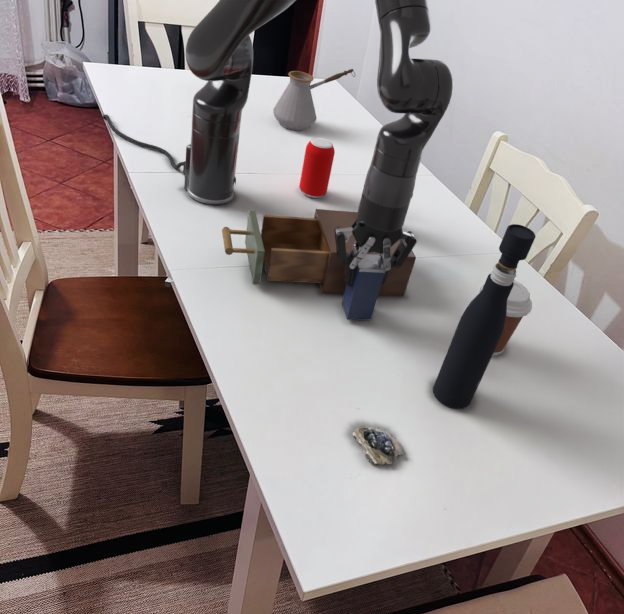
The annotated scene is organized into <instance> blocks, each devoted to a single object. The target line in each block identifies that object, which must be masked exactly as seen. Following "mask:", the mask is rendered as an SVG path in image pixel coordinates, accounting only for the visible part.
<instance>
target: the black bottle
mask: <svg viewBox="0 0 624 614" xmlns="http://www.w3.org/2000/svg"><path fill="white" fill-rule="evenodd" d="M535 239H536V234H535V232H534V231H533V230H532V229H531V228H529V227H527V226H525V225H522V224H517V223H516V224H515V223H512V224H509V225H508V226H507V227H506V229H505V232H504V234H503V237H502V239H501V242H500V244H499V246H498V250H499V252H500V253H501V255H500V257H499V259H498V261H497V262H496V263H495V264H494V266H492V270H491V271H490V273H488V275H487V277H486V279H485V282H484V284H483V285H484V286H483V285H482V286H483V289H482V291H481V292H480V291H479V292H478V294H476V296H475V297H474V298H473V299H472V300H471V301H470V302H469V304H467V306H466V308H465V310H464V311H463V313H462V315H461V317H460V319H459V321H458V323H457V326H456V328H455V331H454V334H453V336H452V339H451V341H450V344H449V346H448V349H447V351H446V354H445V357H444V359H443V361H442V364H441V366H440V369H439V371H438V373H437V377H436V378H435V382H434V384H433V386H432V393H433V396H434V398H435V399H436V400H437V401H438V402H439V403H440V404H442V405H444V406H445V407H448V408H450V409H456V410H462V409H465V408H468V407H469V406H470V405H471V403H472V401H473V399H474V396H475V395H476V392H477V390H478V388H479V385H480V384H481V381H482V379H483V377H484V374H485V372H486V371H487V368H488V366H489V364H490V362H491V359H492V358H493V356H494V355H493V353H494V351H495V349H496V346H497V344H498V342H499V340H500V338H501V335H502V333H503V330H504V326H505V321H506V314H507V299H508V297H509V295H510V292H511V290H512V288H513V285H514V284H513V282H514V280H515V278H516V277H517V269H518V266H519V263H520V261H524V260H526V259H527V257H528V255H529V253H530V251H531V248H532V246H533V244H534V242H535Z"/></svg>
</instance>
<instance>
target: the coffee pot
mask: <svg viewBox="0 0 624 614" xmlns="http://www.w3.org/2000/svg"><path fill="white" fill-rule="evenodd" d="M287 74H288V78H289V83H288V84H287V86H286V88H285V89H284V91H283V92H282V94H281V95H280V97H279V99H278V101H277V102H276V104H275V106H274V107H273V109H272V113H273V116H274V118H275V120H276V121H277V122H278V123H279V125H280V126H281V127H282V128H285V129H288V130H291V131H296V132H297V131H298V132H300V131H302V132H303V131H306V130H308V128H310V127H312V126H313V125H314V124H315V122H316V121H317V113H316V108H315V104H314V100H313V94H312V89H315V88H317V87H319V86H321V85H324V84H327V83H330V82H333V81H336V80H339V79H340V78H342V77H344V76H348V74H351V76H352V77H353V78H355V77H356V72H355V71H354V68H349V69H348V70H343V72H338V73H336V74H333V75H331V76H329V77H327V78H325V79H323V80H320V81H318V82H315V83H313V84H311V83H312V82H313V81H314V77H313V75H311V74H309V73H307V72H304V71H299V70H291V71H289V72H288V73H287ZM353 74H354V75H353Z"/></svg>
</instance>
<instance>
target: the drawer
mask: <svg viewBox="0 0 624 614" xmlns="http://www.w3.org/2000/svg"><path fill="white" fill-rule="evenodd" d="M260 229H261V230H260ZM221 233H222V240H223V246H224V247H223V248H224V253H225V255H228V256H230V255H232V254H233V253H234V254H235V253H236V254H246V255H247V260H248V266H249V271H250V277H251V282H252V285H257V286H258V285H259V286H260V285H261V278H262V272H263V266H264V271H265V275H266V280H267V281H268V282H289V283H310V284H311V283H314V284H319V283H323V280H324V275H325V271H326V266H327V262H328V257H329V251H328V248H327V246H326V243H325V240H324V237H323V234H322V231H321V228H320V226H319V223H318V220H317V218H314V217H303V216H289V215H278V214H276V215H273V214H263V215H262V222H261V228H260V223H259V220H258V216H257V211H256V210H255V209H249V210H248V216H247V223H246V230H241V229H230V227H228V226H224V227H222V229H221ZM232 235H239V236H245V239H244V245H245V248H240V247H239V248H238V247H234V246H233V241H232Z"/></svg>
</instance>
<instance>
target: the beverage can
mask: <svg viewBox="0 0 624 614" xmlns="http://www.w3.org/2000/svg"><path fill="white" fill-rule="evenodd" d="M335 152H336V151H335V147H334V145H333V143H332V142H331V141H330V140H328V139H327V138H323V137H313V138H312V139H310V140H309V141H308V143H307V144H306V147H305V151H304V156H303V163H302V169H301V175H300V179H299V180H300V181H299V190H300V191H301V193H302V194H303V195H305V196H307V197H309V198H312V199H317V198H318V199H319V198H322V197H324V196H326V195H327V192H328V187H329V183H330V177H331V172H332V168H333V163H334V160H335V159H334V157H335Z"/></svg>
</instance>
